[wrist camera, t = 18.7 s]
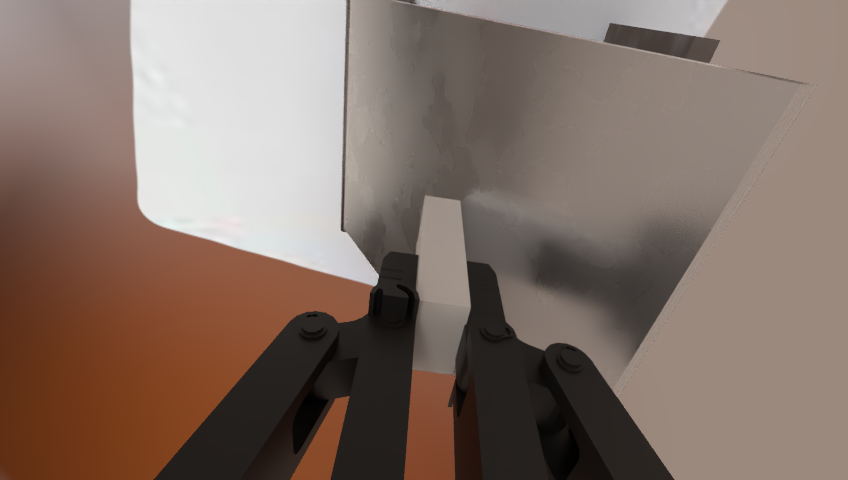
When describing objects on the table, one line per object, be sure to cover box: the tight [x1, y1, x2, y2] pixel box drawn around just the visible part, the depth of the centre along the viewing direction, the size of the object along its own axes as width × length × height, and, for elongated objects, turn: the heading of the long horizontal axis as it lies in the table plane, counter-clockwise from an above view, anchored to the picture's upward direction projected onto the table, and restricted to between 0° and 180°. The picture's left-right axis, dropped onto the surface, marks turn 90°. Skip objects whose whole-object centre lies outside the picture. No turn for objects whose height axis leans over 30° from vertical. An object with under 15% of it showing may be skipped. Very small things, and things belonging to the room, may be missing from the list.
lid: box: [341, 0, 817, 398], centre depth 18 cm, size 16×22×1 cm
